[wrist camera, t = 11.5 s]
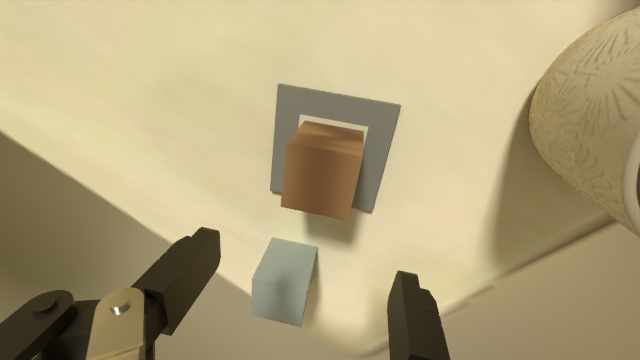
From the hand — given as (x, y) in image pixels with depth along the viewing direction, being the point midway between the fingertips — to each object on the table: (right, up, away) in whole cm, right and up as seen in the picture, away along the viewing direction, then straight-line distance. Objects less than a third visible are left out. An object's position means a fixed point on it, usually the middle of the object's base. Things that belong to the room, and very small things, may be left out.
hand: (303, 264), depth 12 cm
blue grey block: (-2, -5, +19) cm, 20 cm away
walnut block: (+2, +6, +12) cm, 14 cm away
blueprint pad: (+2, +6, +13) cm, 14 cm away
